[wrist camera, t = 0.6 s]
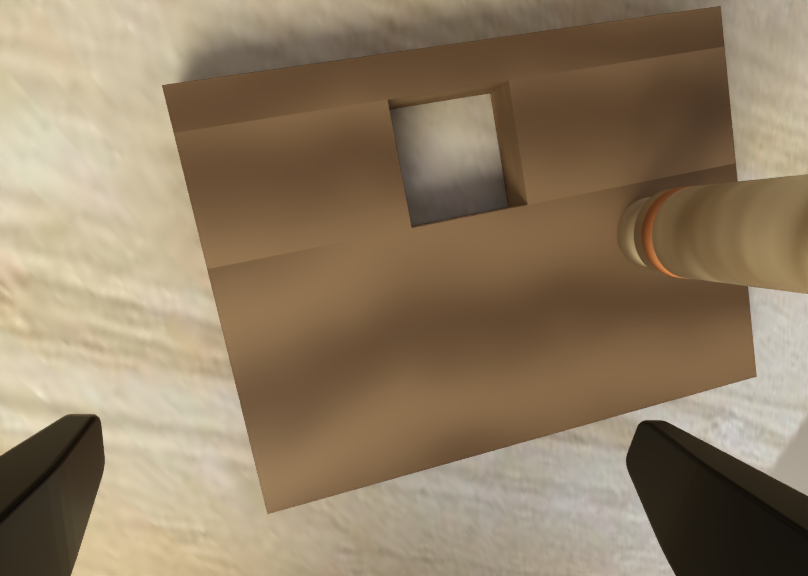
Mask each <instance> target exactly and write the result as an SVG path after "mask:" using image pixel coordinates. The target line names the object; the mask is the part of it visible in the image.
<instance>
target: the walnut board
mask: <svg viewBox="0 0 808 576" xmlns="http://www.w3.org/2000/svg"><path fill="white" fill-rule="evenodd" d="M162 87H163V91H164V95H165V99H166V103H167V107H168V111H169V116H170V120H171V124H172V128H173V132H174V136H175V140H176V144H177V148H178V152H179V156H180V160H181V164H182V168H183V172H184V176H185V181H186V185H187V189H188V193H189V197H190V201H191V205H192V209H193V213H194V217H195V221H196V225H197V229H198V233H199V237H200V241H201V245H202V250H203V254H204V258H205V262H206V266H207V270H208V274H209V278H210V282H211V286H212V290H213V294H214V298H215V302H216V306H217V310H218V315H219V319H220V323H221V327H222V331H223V335H224V339H225V343H226V347H227V351H228V355H229V359H230V363H231V367H232V371H233V375H234V380H235V384H236V388H237V392H238V396H239V400H240V404H241V408H242V412H243V416H244V420H245V424H246V428H247V432H248V436H249V440H250V444H251V449H252V453H253V457H254V461H255V465H256V469H257V473H258V477H259V481H260V485H261V489H262V493H263V497H264V501H265V505H266V509H267V514H270V513H273V512H277V511H280V510H284V509H287V508H291V507H294V506H298V505H302V504H305V503H309V502H312V501H316V500H319V499H323V498H326V497H330V496H334V495H337V494H341V493H344V492H348V491H351V490H355V489H358V488H362V487H366V486H369V485H373V484H376V483H380V482H383V481H387V480H390V479H394V478H398V477H401V476H405V475H408V474H412V473H415V472H419V471H422V470H426V469H430V468H433V467H437V466H440V465H444V464H447V463H451V462H454V461H458V460H462V459H465V458H469V457H472V456H476V455H479V454H483V453H486V452H490V451H494V450H497V449H501V448H504V447H508V446H511V445H515V444H518V443H522V442H526V441H529V440H533V439H536V438H540V437H543V436H547V435H550V434H554V433H558V432H561V431H565V430H568V429H572V428H575V427H579V426H582V425H586V424H590V423H593V422H597V421H600V420H604V419H607V418H611V417H614V416H618V415H621V414H625V413H629V412H632V411H636V410H639V409H643V408H646V407H650V406H653V405H657V404H661V403H664V402H668V401H671V400H675V399H678V398H682V397H685V396H689V395H693V394H696V393H700V392H703V391H707V390H710V389H714V388H717V387H721V386H725V385H728V384H732V383H735V382H739V381H742V380H746V379H749V378H753V377H757V376H756V365H755V355H754V345H753V335H752V324H751V314H750V304H749V294H748V286H743V285H736V284H728V283H720V282H712V281H704V280H697V279H685V278H677V277H670V276H666V275H661V274H658V273H655V272H653V271H652V270H650V269H649V268H648V267H642V266H638V265H635V264H633V263H632V262H630V261H629V260H628V259H627V258H626V257H625V256H624V255H623V253H622V252H621V250H620V248H619V244H618V240H617V228H618V223H619V220H620V218H621V216H622V214H623V212H624V211H625V210H626V208H627V207H628V206H629V205H630V204H632V203H633V202H635V201H636V200H639V199H641V198H646V197H652V196H653V195H655V194H657V193H658V192H661V191H663V190H666V189H673V188H678V187H687V186H701V185H711V184H721V183H730V182H738V181H737V171H736V160H735V150H734V140H733V130H732V120H731V109H730V99H729V89H728V79H727V68H726V58H725V48H724V38H723V27H722V17H721V7H720V6H717V7H710V8H703V9H696V10H689V11H682V12H675V13H668V14H661V15H654V16H647V17H640V18H633V19H626V20H619V21H612V22H605V23H598V24H590V25H583V26H576V27H569V28H562V29H555V30H548V31H541V32H534V33H527V34H520V35H513V36H506V37H499V38H492V39H485V40H478V41H471V42H464V43H456V44H449V45H442V46H435V47H428V48H421V49H414V50H407V51H400V52H393V53H386V54H379V55H372V56H365V57H358V58H351V59H344V60H337V61H330V62H323V63H315V64H308V65H301V66H294V67H287V68H280V69H273V70H266V71H259V72H252V73H245V74H238V75H231V76H224V77H217V78H210V79H203V80H196V81H189V82H182V83H174V84H167V85H162ZM488 93H490V94H491V101H492V107H493V113H494V119H495V126H496V132H497V138H498V144H499V150H500V157H501V163H502V169H503V175H504V182H505V188H506V194H507V200H508V207H505V208H500V209H495V210H490V211H485V212H480V213H475V214H470V215H465V216H460V217H455V218H450V219H445V220H440V221H435V222H430V223H425V224H420V225H415V226H411V222H410V217H409V211H408V206H407V201H406V195H405V190H404V185H403V179H402V174H401V169H400V163H399V158H398V153H397V147H396V142H395V137H394V131H393V126H392V121H391V115H390V110H389V109H394V108H400V107H407V106H413V105H419V104H425V103H432V102H438V101H444V100H450V99H457V98H463V97H469V96H475V95H482V94H488Z"/></svg>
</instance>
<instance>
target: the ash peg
mask: <svg viewBox="0 0 808 576" xmlns="http://www.w3.org/2000/svg"><path fill="white" fill-rule="evenodd" d="M617 240H618V244H619V248H620V250H621V252H622V253H623V255H624V256H625V257H626V258H627V259H628V260H629V261H630V262H632V263H633V264H635V265H638V266H642V267H648V268H649V269H650V270H652V271H653V272H655V273H658V274H661V275H666V276H670V277H677V278H685V279H697V280H704V281H712V282H720V283H728V284H736V285H743V286H751V287H759V288H767V289H775V290H782V291H790V292H798V293H806V294H808V174H807V175H797V176H788V177H778V178H768V179H759V180H749V181H740V182H730V183H721V184H711V185H701V186H687V187H678V188H673V189H666V190H663V191H661V192H658V193H657V194H655V195H653V196H652V197H646V198H641V199H639V200H636V201H635V202H633V203H632V204H630V205H629V206H628V207H627V208H626V210H625V211H624V212H623V214H622V216H621V218H620V220H619V223H618V228H617Z"/></svg>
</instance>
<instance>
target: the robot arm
mask: <svg viewBox="0 0 808 576" xmlns="http://www.w3.org/2000/svg"><path fill="white" fill-rule="evenodd" d="M104 465H105V455H104V446H103V436H102V426H101V421H100V418H99V417H98V416H97V415H95V414H68V415H66V416H64V417H62V418H60V419H59V420H57V421H56V422H54V423H52V424H51V425H49V426H47V427H46V428H44V429H43V430H41V431H39V432H38V433H36V434H35V435H33V436H31V437H30V438H28V439H27V440H25V441H23V442H22V443H20V444H18V445H17V446H15V447H14V448H12V449H10V450H9V451H7V452H6V453H4V454H2V455H1V456H0V576H71V573H72V570H73V567H74V564H75V561H76V559H77V555H78V552H79V549H80V546H81V543H82V539H83V536H84V533H85V530H86V527H87V523H88V520H89V517H90V514H91V511H92V507H93V504H94V501H95V498H96V495H97V491H98V488H99V485H100V482H101V479H102V475H103V471H104ZM626 465H627V469H628V472H629V475H630V477H631V479H632V482H633V484H634V486H635V489H636V491H637V493H638V496H639V498H640V500H641V503H642V505H643V507H644V510H645V512H646V514H647V517H648V519H649V521H650V524H651V526H652V528H653V531H654V533H655V535H656V538H657V540H658V542H659V544H660V546H661V549H662V551H663V552H664V554H665V556H666V558H667V560H668V562H669V564H670V566H671V568H672V570H673V572H674V573H675V575H676V576H808V496H807V495H805V494H803V493H801V492H799V491H797V490H795V489H793V488H791V487H790V486H788V485H786V484H784V483H782V482H780V481H778V480H776V479H774V478H773V477H771V476H769V475H767V474H765V473H763V472H761V471H759V470H757V469H755V468H753V467H752V466H750V465H748V464H746V463H744V462H742V461H740V460H738V459H736V458H734V457H733V456H731V455H729V454H727V453H725V452H723V451H721V450H719V449H717V448H715V447H714V446H712V445H710V444H708V443H706V442H704V441H702V440H700V439H698V438H696V437H695V436H693V435H691V434H689V433H687V432H685V431H683V430H681V429H679V428H677V427H676V426H674V425H672V424H670V423H668V422H666V421H661V420H645V421H642V422H641V423H640V424H639V425H638V427H637V429H636V432H635V434H634V437H633V440H632V442H631V445H630V448H629V450H628V453H627V457H626Z"/></svg>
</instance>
